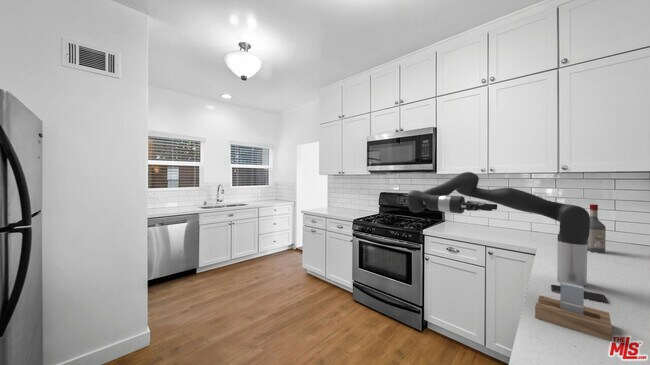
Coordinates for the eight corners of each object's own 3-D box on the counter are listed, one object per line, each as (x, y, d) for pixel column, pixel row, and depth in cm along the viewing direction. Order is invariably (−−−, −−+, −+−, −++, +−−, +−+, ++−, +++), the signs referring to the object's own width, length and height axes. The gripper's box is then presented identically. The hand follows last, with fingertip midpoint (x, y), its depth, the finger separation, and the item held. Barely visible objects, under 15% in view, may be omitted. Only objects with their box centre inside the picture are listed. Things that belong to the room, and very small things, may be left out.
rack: (539, 305, 88) (539, 295, 88) (608, 324, 77) (608, 312, 77) (534, 317, 80) (535, 306, 80) (611, 340, 68) (612, 327, 68)
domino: (560, 316, 81) (561, 281, 81) (583, 322, 77) (583, 286, 77) (560, 319, 79) (560, 283, 79) (583, 326, 75) (583, 288, 75)
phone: (608, 301, 90) (551, 290, 100) (608, 305, 90) (551, 292, 100) (603, 294, 96) (550, 284, 106) (603, 297, 96) (550, 286, 106)
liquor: (608, 253, 159) (608, 205, 159) (590, 252, 161) (591, 204, 161) (595, 249, 168) (596, 204, 168) (579, 248, 170) (579, 203, 170)
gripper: (445, 196, 107) (490, 198, 96) (456, 195, 117) (498, 197, 106) (445, 213, 107) (490, 218, 96) (456, 211, 117) (498, 215, 106)
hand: (494, 207), depth 101 cm, fingers open, 8 cm apart
